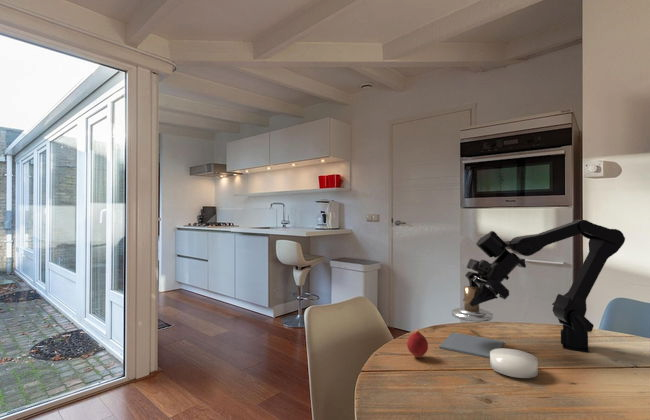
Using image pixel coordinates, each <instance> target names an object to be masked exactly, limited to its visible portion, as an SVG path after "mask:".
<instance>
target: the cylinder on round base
mask: <svg viewBox="0 0 650 420" xmlns="http://www.w3.org/2000/svg"><path fill="white" fill-rule="evenodd" d="M478 291H479V287H475V286H470V285H465V286H463V299H464V301H463V302H464V303H463V304H464V306H462V307H457V308H456V307H455V308H454V309H453V308H452V310H451V316H453V317H454V318H455V319H458V320H462V321H468V322H477V323H478V322H479V323H480V322H489V321H492V320H494V314H493V313H492V312H491V311H488V310H485V309H483V308H480V304H478V305H475V306H471V305H470V302H471V301H472V299H473V298H474V296H475V295H476V294H477V292H478Z"/></svg>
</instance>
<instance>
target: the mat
mask: <svg viewBox="0 0 650 420" xmlns="http://www.w3.org/2000/svg"><path fill="white" fill-rule="evenodd" d="M504 343H505V342H504V340H499V339H493V338H487V337H483V336H476V335H471V334H464V333H459V332H458V333H457V332H451V334H450V335H448V336H447V337H446V338H445V339H444V341H443V342H442V343H440V345H439V346H438V348H439V349H442V350H447V351H451V352H458V353H461V354H466V355H471V356H475V357H481V358H486V359H490V351H492V350H494V349H500V348H503V346H504Z"/></svg>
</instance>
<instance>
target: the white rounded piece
mask: <svg viewBox="0 0 650 420" xmlns="http://www.w3.org/2000/svg"><path fill="white" fill-rule="evenodd" d="M538 362H539V360H538V358H537V357H536V356H535V355H533V354H531V353H528V352H526V351H523V350H520V349H513V348H503V347H502V348H500V349H494V350H492V351H490V358H489V366H490V368H491V369H492V370H494V371H495V372H497V373H498V374H502V375H505V376H509V377H512V378H520V379H531V378H535V377H537V376H538V374H539V369H538V368H539V365H538Z"/></svg>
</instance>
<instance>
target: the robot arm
mask: <svg viewBox="0 0 650 420" xmlns="http://www.w3.org/2000/svg"><path fill="white" fill-rule="evenodd" d="M578 235H581V236H582V237H583V238H586V239H588V252H587V256H586V257H585V259H584V261H583V263H582V265H581V266H580V269H579V271H578V273H577V275H576V276H575V278H574V279H573V282H572V284H571V286H570V288H569V290H568V291H567V292H566V293H564V295H563V294H560V293H558V294H557V295H556V298H555V301H554V302H553V303H552V304H551V305H552V306H553V307H552V313H553V315H554V317H556V318H557V320H558V323H559V324H562V328H561V329H560V345H562V348H563V349H567V350H573V351H579V352H580V351H581V352H585V353H589V352H590V349H589V333H591V332H593V329H594V324H593V323H592V322H591V321H590V320H589V319H588V318H587V317H586V313H587V299H588V297H589V295H590V293H591V291H592V290H593V287H594V285H595V284H596V281H597V279H598V278H599V275H600V274H601V272H602V270H603V268H604V266H605V264H606V262H607V261H608V259H609V258H610V257H613V255H615V254H617V252H618V251H619V250H620V249H621V248H622V246H623V245H624V243H625V241H626V237H625V236H624V233H623V232H622V231H621V230H620V229H617V228H609V227H605V226H603V225H599V224H597V223H596V224H595V223H593V222H591V221H589V220H586V219H575V220H572V221H571V222H568V223H565V224H562V225H560V226H556V227H554V228H550V229H548V230H545V231H541V232H539V233H535V234H527V235H526V234H525V235H520V236H519V235H518V236H515V237H512V238H511V240H507V241H505V240H503V239H502V238H501V237H500V236H499V235H498V234H497V232H496V231H493V230H490V231H489V232H488V233H486V234H485V235H483V236H482V237H480V238H479V239H478V240H477V242H476V246H477V247H478V248H479V249H480V250H481V251H482V252H483V253H484V254H485V255H486V256H487V257H488V258H495V259H494V261H493V262H489V261H488V260H486V259H481V260H476V259H473V258H470V259H469V261H468V262H467V265H466V269H470V270H472V271H467V272H466V274H464V276H465V278H467V280H468V283H469V284H468V285H469V286H475V287H479V291H478V292H477V294H476V295H475V296H474V298H473V299H472V301H471V302H470V305H471V306H475V305H478V304H479V305H480V304H483V303H486V302H488V301H492V300H495V299H496V300H497V299H498V298H500V299H502V300H506V299H507V298H508V297H510V289H508V288H507V287H506V286H505V285H504V284H503V281H504V280H506V281H508V280H509V279H510V277H509V275H510V273H512V272H513V271H514V270H515V269H516V267H519V268H523V269H524V268H525V269H526V267H527V266H526V265H527V264H526V259H525V258H520V257H519V256H518V255H520V256H524V257H530V256H532V255H535V254H536V253H538V252H540V251H541V250H543V249H544V248H545V247H546V246H549V245H551V244H554V243H557V242H560V241H563V240H567V239H570V238H572V237H575V236H578ZM509 250H511V252H510V251H509ZM498 296H499V297H498ZM462 301H463V302H464V298H463V300H462Z"/></svg>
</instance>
